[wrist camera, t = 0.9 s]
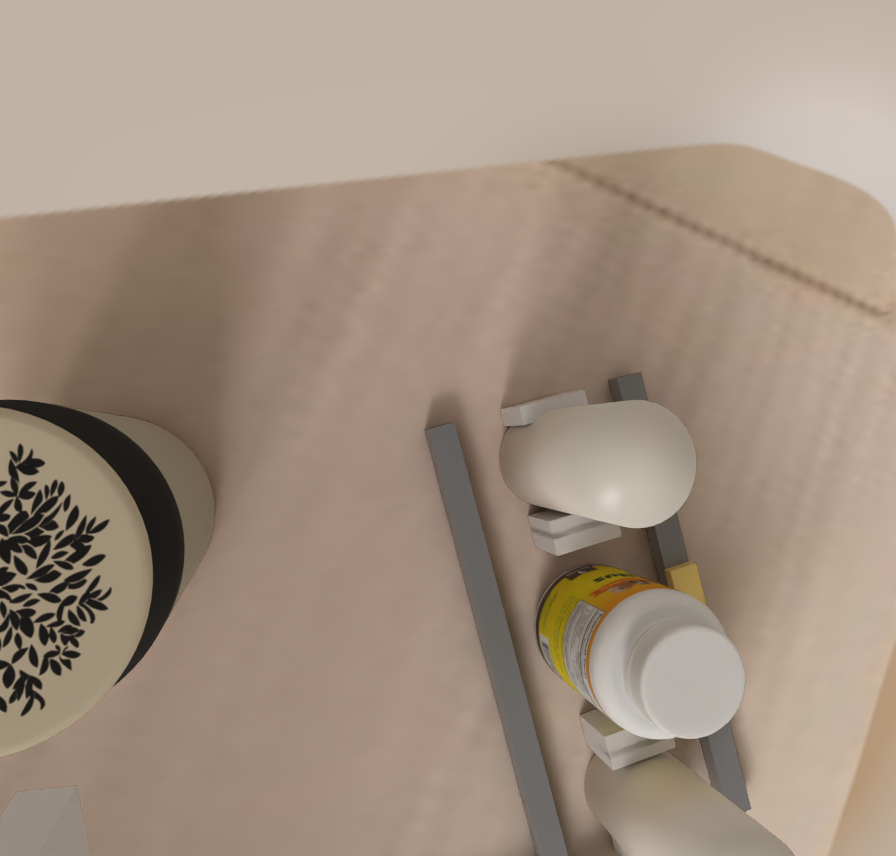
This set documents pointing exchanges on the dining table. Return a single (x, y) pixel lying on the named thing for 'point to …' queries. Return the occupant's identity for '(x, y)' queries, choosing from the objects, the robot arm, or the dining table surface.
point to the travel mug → (87, 556)
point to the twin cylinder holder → (654, 507)
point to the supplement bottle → (640, 652)
